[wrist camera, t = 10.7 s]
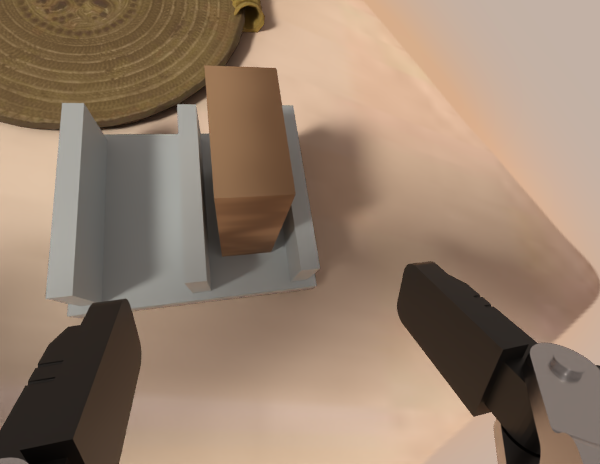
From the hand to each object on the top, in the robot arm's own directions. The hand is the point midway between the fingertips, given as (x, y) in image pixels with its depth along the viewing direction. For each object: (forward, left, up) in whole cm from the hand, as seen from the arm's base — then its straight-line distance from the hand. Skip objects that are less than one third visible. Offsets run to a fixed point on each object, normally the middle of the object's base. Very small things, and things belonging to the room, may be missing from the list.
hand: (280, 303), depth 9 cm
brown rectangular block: (0, +8, -13) cm, 16 cm away
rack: (-3, +9, -15) cm, 17 cm away
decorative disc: (-11, +31, -15) cm, 36 cm away
